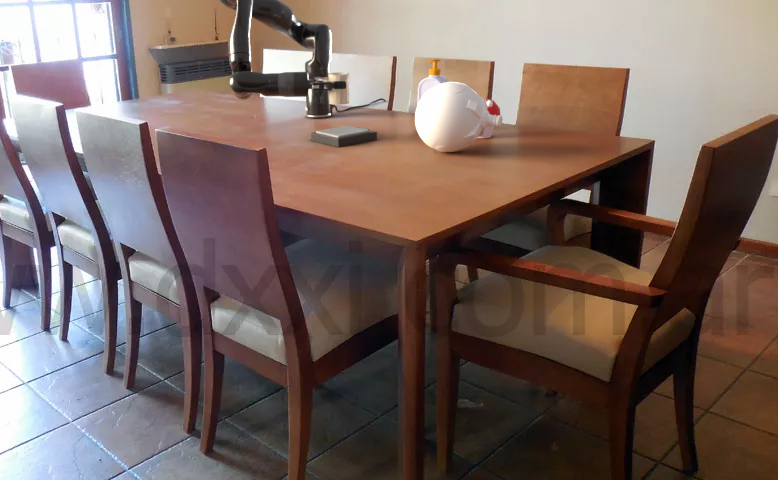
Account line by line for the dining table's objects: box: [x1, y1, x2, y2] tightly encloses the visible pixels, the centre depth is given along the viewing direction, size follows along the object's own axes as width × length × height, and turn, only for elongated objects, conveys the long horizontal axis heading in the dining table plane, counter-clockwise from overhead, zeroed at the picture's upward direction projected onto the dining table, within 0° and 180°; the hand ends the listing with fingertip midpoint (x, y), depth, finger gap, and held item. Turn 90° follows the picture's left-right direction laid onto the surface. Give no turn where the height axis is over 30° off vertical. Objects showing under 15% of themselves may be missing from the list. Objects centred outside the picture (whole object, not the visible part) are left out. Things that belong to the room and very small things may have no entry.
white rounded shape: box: [414, 81, 503, 153], centre depth 195 cm, size 20×25×20 cm
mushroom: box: [476, 97, 501, 139], centre depth 216 cm, size 11×11×12 cm
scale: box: [310, 125, 378, 148], centre depth 219 cm, size 16×14×3 cm
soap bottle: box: [416, 58, 450, 107], centre depth 225 cm, size 9×7×23 cm
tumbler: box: [328, 71, 350, 106], centre depth 214 cm, size 6×6×9 cm
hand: (346, 83), depth 213 cm, fingers closed on tumbler, 6 cm apart
